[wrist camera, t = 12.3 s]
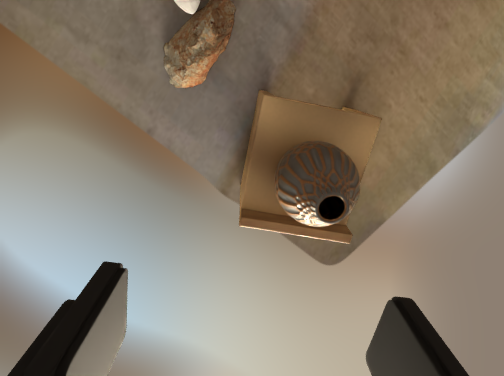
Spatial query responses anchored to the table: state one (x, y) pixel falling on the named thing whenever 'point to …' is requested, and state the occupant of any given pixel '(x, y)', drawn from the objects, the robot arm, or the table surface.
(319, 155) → the vase
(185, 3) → the rocket model
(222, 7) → the brown rock
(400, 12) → the table surface
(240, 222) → the shelf
